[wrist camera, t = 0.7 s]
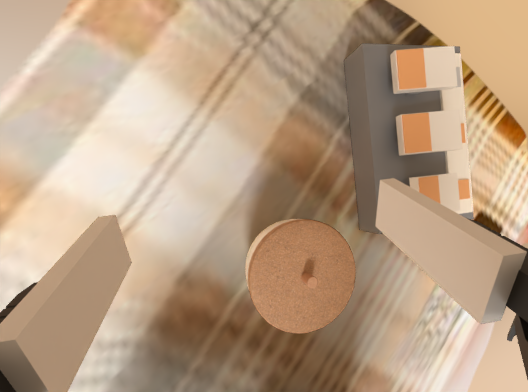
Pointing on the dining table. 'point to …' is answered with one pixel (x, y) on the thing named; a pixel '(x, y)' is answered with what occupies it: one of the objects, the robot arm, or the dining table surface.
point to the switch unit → (385, 131)
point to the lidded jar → (300, 274)
